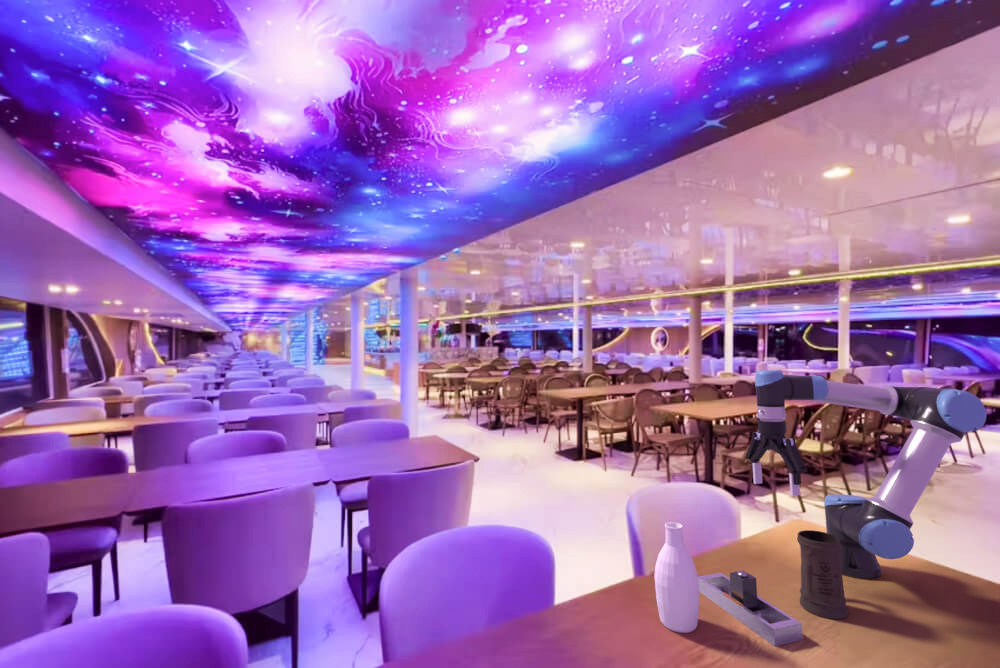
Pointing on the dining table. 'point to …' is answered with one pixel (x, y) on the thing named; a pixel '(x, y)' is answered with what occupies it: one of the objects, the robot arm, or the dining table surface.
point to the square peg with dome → (744, 589)
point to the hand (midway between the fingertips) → (775, 489)
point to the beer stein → (821, 575)
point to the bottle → (676, 583)
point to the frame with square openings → (775, 633)
